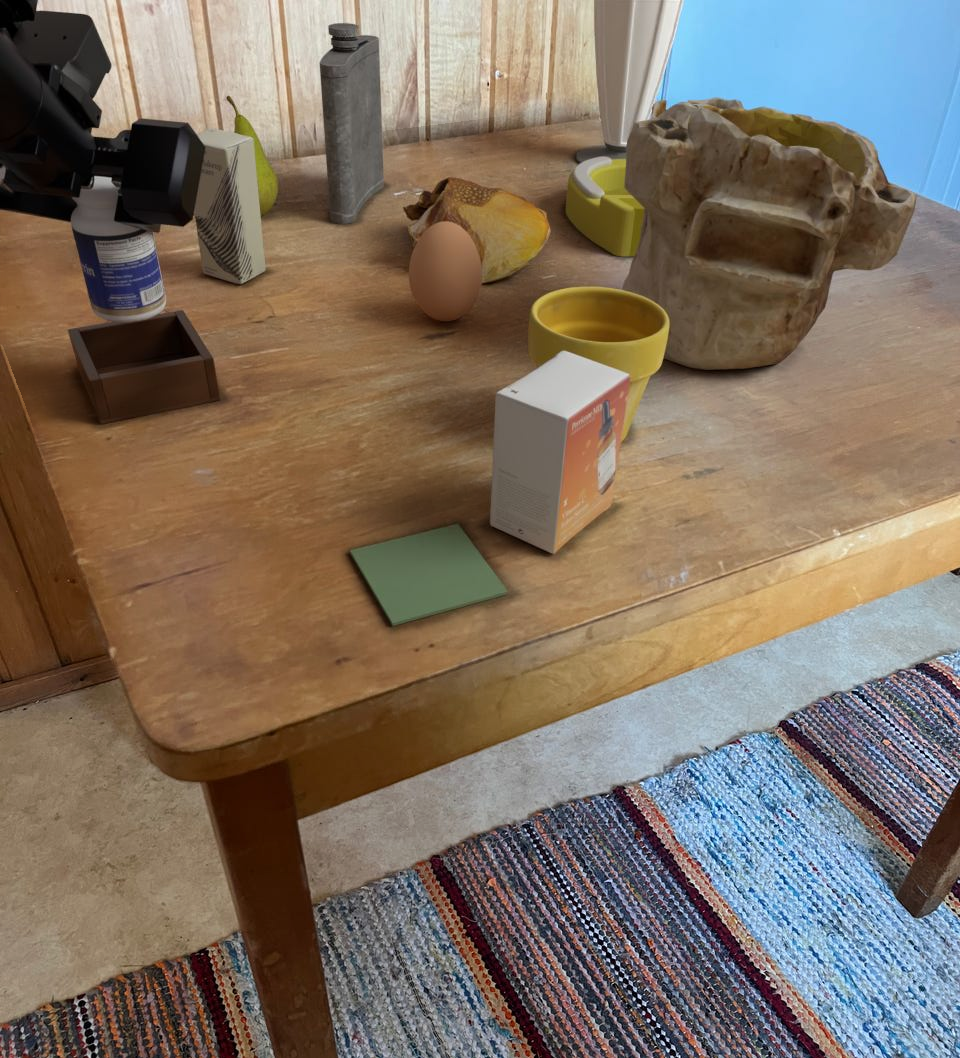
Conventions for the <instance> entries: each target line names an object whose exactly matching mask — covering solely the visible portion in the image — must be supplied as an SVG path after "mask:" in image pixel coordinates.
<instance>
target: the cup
mask: <svg viewBox="0 0 960 1058" xmlns="http://www.w3.org/2000/svg"><path fill="white" fill-rule="evenodd" d="M684 2H685V0H593V31H594V32H593V33H594V53H595V55H594V56H595V57H594V58H595V75H596V86H597V88H596V89H597V98H598V99H597V101H598V109H599V116H600V123H601V129H602V130H601V131H602V136H603V142H604V145H595V146H591V147H590V146H589V147H586V148H583V149H581V150H580V151H579V152H577V153H576V161H577V162H578V164H580V163H582V162H584V161H586V160H589V159H592V158H596V157H609V158H610V159H626V145H627V140H628V138H629V135H630V133H631V131H632V128H633V125H634V123H636V122H640V121H644V120H650V119H651V116H652V107H653V104H654V103H656V100H657V98H658V94H659V91H660V88H661V85H662V82H663V79H664V75H665V72H666V70H667V69H666V68H667V65H668V61H669V59H670V54H671V51H672V48H673V45H674V41H675V37H676V33H677V30H678V25H679V22H680V18H681V14H682V10H683V6H684Z"/></svg>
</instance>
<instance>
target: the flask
mask: <svg viewBox="0 0 960 1058" xmlns="http://www.w3.org/2000/svg"><path fill="white" fill-rule="evenodd" d="M327 27H328V28H327V29H328V35H330V36H331V37H330V45H331V46H332V47H331V49H329V50H328V51H327V52H325V54H324V55H323V56H322V57H321V59H320V60H319V75H320V91H321V105H322V118H323V120H322V121H323V132H324V133H323V134H324V148H325V161H326V174H327V190H328V201H329V202H328V204H329V217H330V221H331V222H332V223H333V224H338V225H347V224H352V223H354V222H355V221H356V220H357V217H358V214H359V212H360V210H361V209H362V208H363V206H364V205H365V204H366V202H368V200H369V199H370V198H372V197H373V196H374V195H375V194H376V193H378V192H379V191H380V190H382V189H384V187H385V177H384V149H383V148H384V147H383V145H384V144H383V119H382V116H383V115H382V91H381V90H382V89H381V87H382V86H381V62H380V38H379V36H376V35H371V34H361V35H360V26H359V25H358V24H355V23H350V22H337V23H331V24H329V25H328V26H327Z"/></svg>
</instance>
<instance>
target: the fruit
mask: <svg viewBox="0 0 960 1058" xmlns="http://www.w3.org/2000/svg"><path fill="white" fill-rule="evenodd" d="M226 101H227V102H228V103H229V104H230V105H231V107H233V110H234V112H235V117H234V131H233V132H234V133H237V134H240V135H244V136H249V137H251V138H253V139H254V150H255V162H256V173H257V183H258V194H259V205H260V215H261V217H264V216H265V215H266V214H267V213H268V212H269V211H270V210H271V208H272V207H273V206H274V204H275V202H276V200H277V197H278V194H279V183H278V178H277V175H276V172H275V170H274V169H273V166H272V165H271V164H270V162H269V160H268V158H267V156H266V154H265V151H264V149H263V146H262V143H261V141H260V138H259V135H257V133H256V130H255V128H254V127H253V126H252V124H251V123H250V122H249V119H247V117H245V116H244V115H242V114H240V112H239V110H238V108H237V106H236V104H235V102H234V100H233V98H232V97H231V96H230V95H227V96H226Z"/></svg>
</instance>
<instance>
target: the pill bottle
mask: <svg viewBox="0 0 960 1058" xmlns="http://www.w3.org/2000/svg"><path fill="white" fill-rule="evenodd" d="M94 178H95V181H94V186H93V188H92V189H81V191H80V197H79V198H75V197H72V199H73V200H74V201H75V202H76V203H77V207H76V208H75V209H74V211H73V212H72V215H71V222H70V226H71V231H72V235H73V238H74V242H75V247H76V250H77V253H78V254H77V255H78V258H79V263H80V266H81V271H82V275H83V278H84V283H85V287H86V291H87V295H88V299H89V303H90V308H91V310H92V312H93V313H94V314H95V315H96V316H97V317H99V318H100V319H102V320H105V321H108V322H122V323H127V322H137V321H142V320H146V319H149V318H152V317H154V316H156V315H157V314H161V312H162V311H163V310H164V309H165V307H166V305H167V296H166V292H165V287H164V282H163V277H162V272H161V271H162V270H161V267H160V266H161V265H160V262H159V257H158V252H157V251H158V250H157V247H156V241H155V237H154V232H151V231H147V230H143V229H140V228H136V227H133V226H129V225H125V224H121V223H118V222H115V221H114V216H115V210H116V205H117V199H118V189H119V187H115V186H114V184H113V183H112V182H111V179H112V178H109V177H99V176H94Z"/></svg>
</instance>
